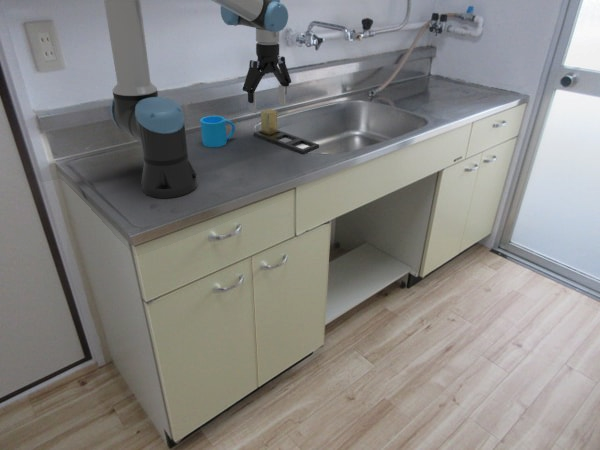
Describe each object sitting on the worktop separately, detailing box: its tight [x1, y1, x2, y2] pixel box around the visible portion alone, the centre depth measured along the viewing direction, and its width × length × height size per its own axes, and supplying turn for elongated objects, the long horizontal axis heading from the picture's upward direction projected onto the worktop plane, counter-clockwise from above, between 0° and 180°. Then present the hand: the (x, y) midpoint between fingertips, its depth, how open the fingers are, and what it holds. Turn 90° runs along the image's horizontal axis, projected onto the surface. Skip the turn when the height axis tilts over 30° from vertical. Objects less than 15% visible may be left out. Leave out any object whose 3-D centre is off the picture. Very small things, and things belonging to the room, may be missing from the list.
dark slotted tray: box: [253, 129, 320, 155], centre depth 158 cm, size 8×24×1 cm, turn 47°
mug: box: [199, 115, 236, 148], centre depth 155 cm, size 12×8×8 cm
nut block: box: [260, 108, 278, 137], centre depth 161 cm, size 4×4×9 cm
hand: (267, 108), depth 157 cm, fingers open, 13 cm apart
